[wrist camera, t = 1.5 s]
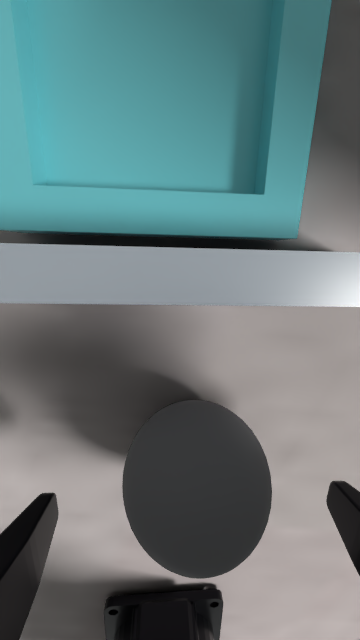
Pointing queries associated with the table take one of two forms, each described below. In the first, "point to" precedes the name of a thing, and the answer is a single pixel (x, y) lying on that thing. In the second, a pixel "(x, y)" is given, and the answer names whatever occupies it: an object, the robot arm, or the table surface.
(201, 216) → the coaster
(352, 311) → the table surface
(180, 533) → the ball
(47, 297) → the gray flat board
